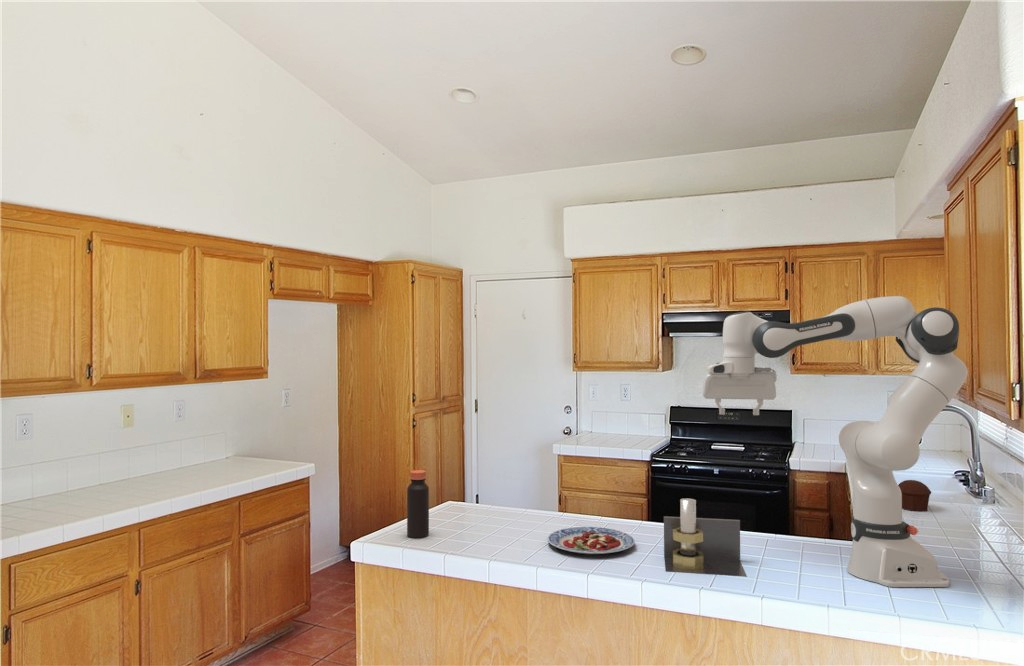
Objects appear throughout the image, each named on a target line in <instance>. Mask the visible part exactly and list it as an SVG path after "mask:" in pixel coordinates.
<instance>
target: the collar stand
mask: <svg viewBox="0 0 1024 666" xmlns="http://www.w3.org/2000/svg"><path fill="white" fill-rule="evenodd" d="M681 542H682V543H696V552H697V556H695V557H687V556H682V555H680V550H681ZM663 560H664V568H665V569H664V570H665V572H667V573H680V574H695V575H697V574H698V575H699V574H700V575H713V576H731V577H746V578H747V577H748V576H747V574H746V571H745V569H744V566H743V564H742V562H741V520H740V519H728V518H726V519H724V518H708V517H707V518H705V517H704V518H703V517H696V534H693V535H692V534H682V533H680V516H667V515H665V516H663Z"/></svg>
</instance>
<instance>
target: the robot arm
mask: <svg viewBox="0 0 1024 666" xmlns="http://www.w3.org/2000/svg"><path fill="white" fill-rule="evenodd" d="M722 326H723V327H722V345H723V354H722V361H720V362H716V363H714V364H711V365H708V366H707V368H706V372H707V374H706V375H705V376H704V380H703V385H702V386H703V387H702V397H704V399H706V400H711V399H712V400H715V401H714V402H715V404H716V406H717V408H718V411H719V413H718V414H719V415H721V416H722V415H723V416H726V408H725V407H722V406H721V404H720V403H722V400H756V403H757V406H756V408H752V415H753V416H760V409H761V408H762V406H763V404H764V400H766V401H769V400H775V399H776V397H777V390H776V388H777V386H776V382H777V371H776V370H774V369H773V368H771V367H760V366H759V367H757V366H755V365H756V363H755V362H756V361H755V360H756V359H755V355H756V354H759V355H761V356H763V357H764V358H768V359H777V358H779V357H782V356H784V355H786V354H787V353H789V352H790V351H791V350H793V349H794V348H796V347H801V346H805V345H809V344H814V343H819V342H823V341H829V340H830V341H831V340H832V341H833V340H834V341H844V342H860V341H870V340H874V339H878V338H884V337H895V342H896V343H897V344H898V345H899V348H901V350H902V351H903V353H904V354H905V356H906V357H907V358H908V359H909V360H911V361H912V362H914V363H917V366H916V367H915V369H914V370H913V371H912V372H911V373H910V374H908V376H907V377H906V378H905V379H904V380H903V382H902V383H901V384H900V385H899V386H898V387H897V388H896V389H895V390H894V391H893V392H892V393H891V394H890V395H889V396H888V398H887V408H886V410H885V412H884V413H883V415H882V417H881V418H880V419H879V421H877V422H874V421H868V420H858V421H853V422H849V423H847V424H845V425H844V426H843V427H842V428H841V430H840V431H839V434H838V443H839V446H840V448H841V450H842V451H843V453H844V455H845V460H846V464H847V467H848V470H849V476H850V479H851V485H852V502H853V504H852V505H853V506H852V507H853V515H852V516H851V523H850V530H851V531H850V533H851V537H852V544H851V545H852V546H851V553H850V559H849V562H848V565H847V568H846V570H847V572H848V573H850V574H851V575H853V576H854V577H857V578H859V579H862V580H865V581H870V582H872V583H873V582H874V583H877V584H880V585H882V586H885V587H890V588H948V587H949V586H950V580H949V578H948V577H947V576H946V575H945V574H944V573H943V572H942V571H939V567H938V563H937V560H936V558H935V556H934V555H933V554H932V552H930V551H929V550H928V549H927V548H926V547H924V546H923V545H921V544H920V543H919V542H917V540H915V539H914V538H913V537H911V536H916V535H917V534H919V533H918V532H919V528H918V529H917V527H916V526H914V525H910V524H909V523H907V522H905V521H903V509H902V493H901V490H900V487H899V486H898V485H899V483H898V482H897V481H896V478H895V476H894V472H899V471H906V470H910V468H912V467H914V466H915V465H916V464H917V462H918V460H919V458H920V454H921V451H920V450H921V449H920V442H921V440H922V437H923V436H924V434H925V431H926V430H927V429H928V427H929V425H930V424H931V423H932V422H933V421H934V420H935V418H937V416H938V415H939V414H940V413H941V412H942V411H943V409H945V408H946V406H948V405H949V404H950V402H951V401H952V400H953V399H954V398H955V396H956V395H957V393H958V392H959V391H960V389H961V388H962V386H963V385H964V384H965V381H966V379H967V377H968V375H969V370H968V368H967V365H966V364H965V362H963V361H962V360H961V359H960V358H959V357H958V356H956V355H955V354H954V351H956V350H957V348H958V346H959V336H960V323H959V320H958V318H957V316H956V315H955V314H954V313H953V312H952V311H950V310H949V309H946V308H943V307H937V306H936V307H928V308H926V309H923V310H922V311H919V313H918V312H917V311H916V310H915V308H914V305H913V304H912V302H911V301H910V300H909V299H908V298H907V297H905V296H901V295H892V296H890V295H889V296H880V297H879V296H878V297H872V298H867V299H863V300H858V301H854V302H851V303H848V304H846V305H843V306H841V307H839V308H836V309H835V310H834V311H833V312H831V313H829V314H827V315H825V316H822V317H818V318H813V319H809V320H808V319H807V320H803V321H799V322H798V321H797V322H792V323H786V322H783V321H782V322H781V321H778V320H777V321H775V320H765V319H763V318H761V317H759V316H758V315H755V314H754V313H752V312H751V311H748V310H747V311H740V312H735V313H730V314H729V315H727V316H726V318H725V319H724V321H723V325H722ZM893 471H894V472H893Z"/></svg>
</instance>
